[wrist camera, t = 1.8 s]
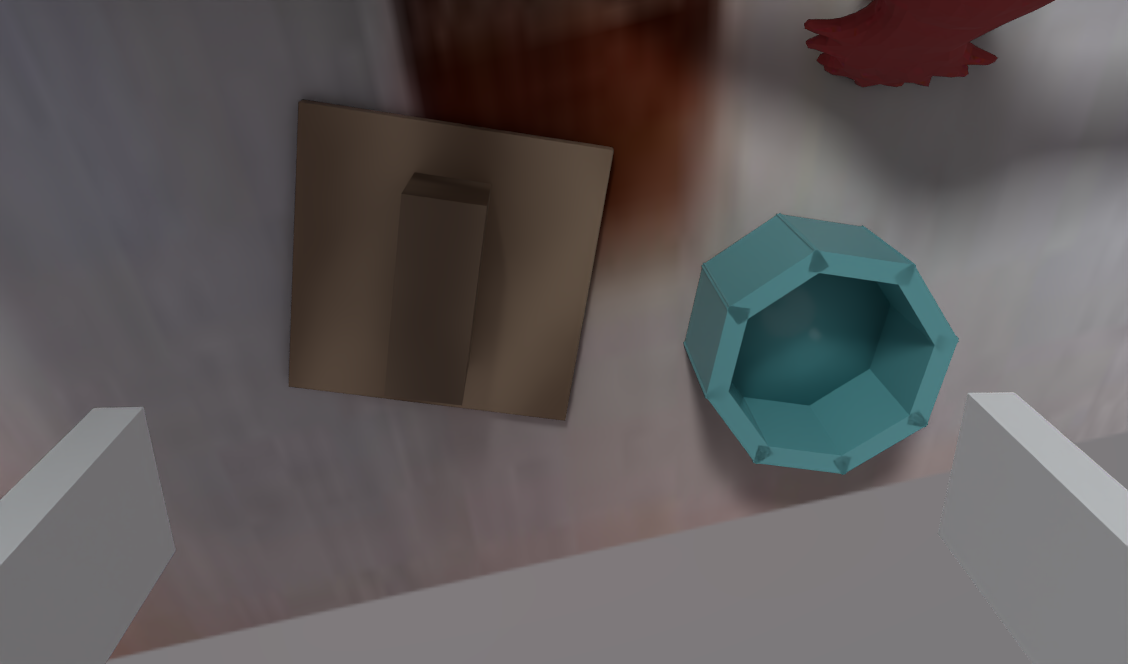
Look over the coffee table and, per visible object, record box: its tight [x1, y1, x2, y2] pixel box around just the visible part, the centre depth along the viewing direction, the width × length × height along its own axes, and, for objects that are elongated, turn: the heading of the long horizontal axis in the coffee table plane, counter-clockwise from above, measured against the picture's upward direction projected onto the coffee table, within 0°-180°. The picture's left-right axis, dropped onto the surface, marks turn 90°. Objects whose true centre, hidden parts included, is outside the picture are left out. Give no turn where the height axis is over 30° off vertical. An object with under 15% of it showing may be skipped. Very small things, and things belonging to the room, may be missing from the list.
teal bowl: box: [683, 213, 959, 475], centre depth 34 cm, size 9×9×5 cm
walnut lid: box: [289, 100, 614, 421], centre depth 33 cm, size 12×12×5 cm
